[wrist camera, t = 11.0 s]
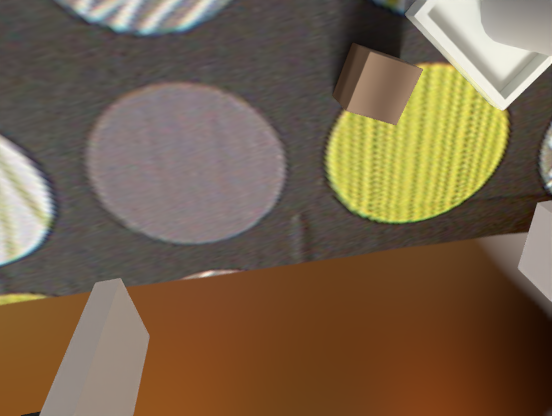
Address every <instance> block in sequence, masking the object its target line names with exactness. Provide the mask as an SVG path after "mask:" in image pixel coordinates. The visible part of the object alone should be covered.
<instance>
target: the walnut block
mask: <svg viewBox="0 0 552 416" xmlns="http://www.w3.org/2000/svg"><path fill="white" fill-rule="evenodd" d="M422 71H423V69H421V68H419V67H417V66H415V65H412V64H410V63H408V62H406V61H404V60H402V59H399V58H396V57H394V56H391V55H388V54H385V53H382V52H379V51H376V50H373V49H370V48H367V47H364V46H361V45H358V44H356V43H353V42H352V45H351V48H350V50H349V53H348V56H347V58H346V61H345V64H344V66H343V69H342V71H341V74H340V77H339V79H338V82H337V85H336V87H335V90H334V93H333V95H332V96H333V97H334V98H335V99H336V100H337V101H338V102H339V103H340V105H341V106H342V107H343V108H344V109H345V110H346V111H348V112H352V113H355V114H359V115H362V116H366V117H369V118H373V119H376V120H380V121H383V122H386V123H390V124H393V125H397V122H398V120H399V118H400V116H401V114H402V112H403V110H404V108H405V106H406V104H407V102H408V100H409V98H410V96H411V94H412V91H413V89H414V87H415V85H416V83H417V81H418V79H419V77H420V75H421V73H422Z"/></svg>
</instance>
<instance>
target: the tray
mask: <svg viewBox="0 0 552 416" xmlns="http://www.w3.org/2000/svg"><path fill="white" fill-rule="evenodd" d="M481 3H482V0H416V1H415V2H414V3H413V4H412V6H411V7H410V8H409V9H408V11H407V12H406V13H405V14H404V15H405V16H406V17H407V18H408V19H409V20H410V21H411V22H412V23H413V24H414V25H415V26H416V27H417V28H418V29H419V30H420V31H421V32H422V33H423V34H424V36H425V37H426V38H427V39H428V40H429V41H430V42H431V43H432V44H433V45H434V46H435V47H436V48H437V49H438V50H439V51H440V52H441V53H442V54H443V56H444V57H445V58H446V59H447V60H448V61H449V62H450V63H451V64H452V65H453V66H454V67H455V68H456V69H457V70H458V71H459V72H460V73H461V74H462V75H463V77H464V78H465V79H466V80H467V81H468V82H469V83H470V84H471V85H472V86H473V87H474V88H475V89H476V90H477V91H478V92H479V93H480V94H481V95H482V96H483V98H484V99H485V100H486V101H487V102H488V103H489V104H490V105H492V106H494V107H496V108H498V109H500V110H502V111H503V110H504V109H505V108H506V107H507V106H508V105H509V104H510V103H511V102H512V101H513V100H514V99H516V98H517V97H518V96H519V95H520V94H521V93H522V92H523V91H524V90H525V89H526V88H527V87H528V86H529V85H530V84H531V83H532V82H533V81H534V80H535V79H536V78H537V77H538V76H539V75H540V74H541V73H542V72H543V71H544V70H545V69H546V68H547V67H548V66H549V65H551V64H552V56H549V55H545V54H541V53H536V52H532V51H528V50H524V49H520V48H516V47H512V46H508V45H504V44H501V43H498V42H495V41H493V40H492V39H491V38H490V37H489V36H488V35H487V34H486V33H485V31H484V28H483V26H482V23H481V12H480V7H481Z"/></svg>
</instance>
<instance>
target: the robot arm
mask: <svg viewBox="0 0 552 416" xmlns="http://www.w3.org/2000/svg"><path fill="white" fill-rule="evenodd" d="M518 269H519V270H520V271H521V272H522V273H523V274H524V275H525V276H526V277H527V278H528V279H529V280H530V281H531V282H532V283H533V284H534V285H535V286H536V287H537V288H538V289H539V290H540V291H541V292H542V293H543V294H544V295H545V296H546V297H547V298H548V299H549V300H550V301H551V302H552V201H547V202H541V203H538V204H537V207H536V210H535V214H534V217H533V220H532V223H531V227H530V230H529V233H528V236H527V240H526V243H525V246H524V249H523V253H522V256H521V259H520V262H519V266H518ZM148 341H149V334H148V332H147V330H146V329H145V326H144V324H143V322H142V320H141V318H140V316H139V314H138V312H137V310H136V308H135V306H134V304H133V302H132V300H131V298H130V296H129V294H128V292H127V290H126V288H125V286H124V284H123V282H122V280H121V278H119V279H113V280H108V281H102V282H97V283H95V285H94V287H93V290H92V292H91V294H90V297H89V299H88V301H87V304H86V306H85V309H84V311H83V313H82V316H81V318H80V321H79V323H78V325H77V328H76V330H75V332H74V335H73V337H72V340H71V342H70V344H69V347H68V349H67V351H66V354H65V356H64V358H63V361H62V363H61V366H60V368H59V370H58V373H57V375H56V377H55V380H54V382H53V384H52V387H51V389H50V392H49V394H48V396H47V399H46V401H45V404H44V406H43V408H42V410H41V412H36V413H30V414H25V415H21V416H133V413H134V409H135V403H136V399H137V394H138V389H139V384H140V379H141V375H142V370H143V365H144V361H145V355H146V351H147V346H148Z"/></svg>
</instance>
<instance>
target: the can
mask: <svg viewBox="0 0 552 416" xmlns="http://www.w3.org/2000/svg"><path fill="white" fill-rule="evenodd" d="M480 12H481V23H482V26H483V28H484V31H485V33H486V34H487V35H488V36H489V37H490V38H491V39H492V40H493V41H495V42H498V43H501V44H504V45H508V46H512V47H516V48H520V49H524V50H528V51H532V52H536V53H541V54H545V55H549V56H552V0H482V3H481V7H480Z"/></svg>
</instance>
